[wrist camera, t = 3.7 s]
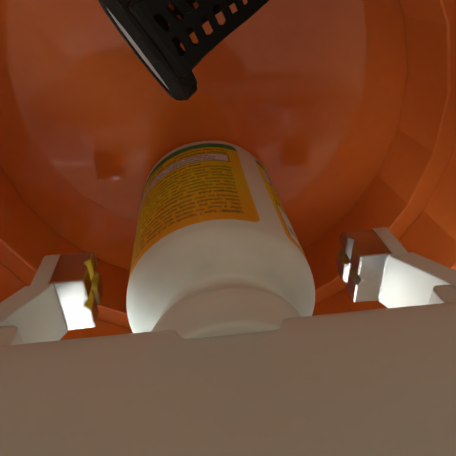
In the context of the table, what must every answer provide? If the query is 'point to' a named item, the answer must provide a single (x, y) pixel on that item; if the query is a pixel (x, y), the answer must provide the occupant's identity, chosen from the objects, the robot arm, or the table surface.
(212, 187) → the supplement bottle
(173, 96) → the smartwatch
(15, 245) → the bowl
